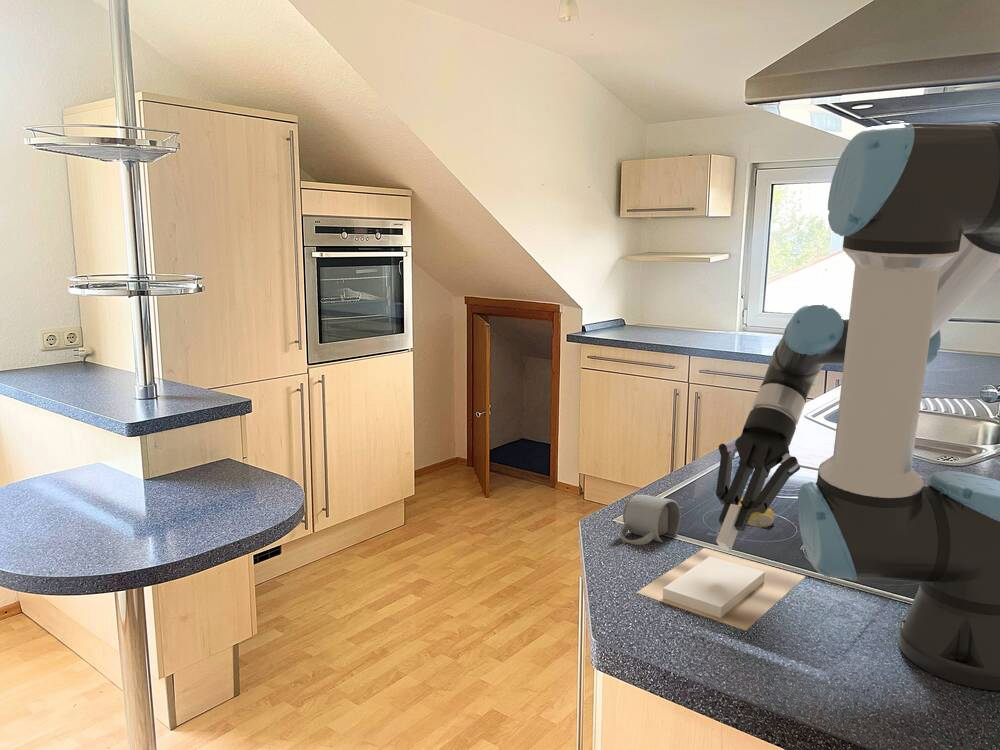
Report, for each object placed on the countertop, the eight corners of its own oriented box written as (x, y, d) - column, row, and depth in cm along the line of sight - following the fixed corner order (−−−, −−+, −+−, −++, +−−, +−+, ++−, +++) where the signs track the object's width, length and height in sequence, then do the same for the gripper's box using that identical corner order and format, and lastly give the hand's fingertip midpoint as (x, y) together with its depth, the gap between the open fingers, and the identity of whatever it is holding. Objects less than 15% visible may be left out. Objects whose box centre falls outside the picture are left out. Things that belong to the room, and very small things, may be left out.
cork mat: (704, 552, 129) (704, 547, 129) (805, 581, 118) (805, 576, 118) (635, 597, 113) (636, 592, 112) (745, 635, 101) (745, 630, 101)
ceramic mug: (642, 525, 141) (643, 485, 140) (681, 536, 136) (682, 495, 134) (608, 542, 134) (609, 500, 133) (647, 555, 128) (648, 512, 127)
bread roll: (754, 511, 149) (755, 491, 148) (781, 527, 140) (782, 506, 140) (716, 514, 147) (717, 494, 147) (740, 531, 139) (741, 510, 138)
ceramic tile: (710, 556, 121) (663, 588, 110) (764, 571, 115) (721, 607, 104) (709, 565, 122) (662, 598, 110) (764, 582, 116) (720, 618, 105)
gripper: (818, 437, 121) (771, 569, 112) (741, 425, 130) (691, 546, 120) (809, 411, 116) (759, 546, 107) (729, 399, 125) (676, 524, 115)
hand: (723, 546), depth 114 cm, fingers closed
